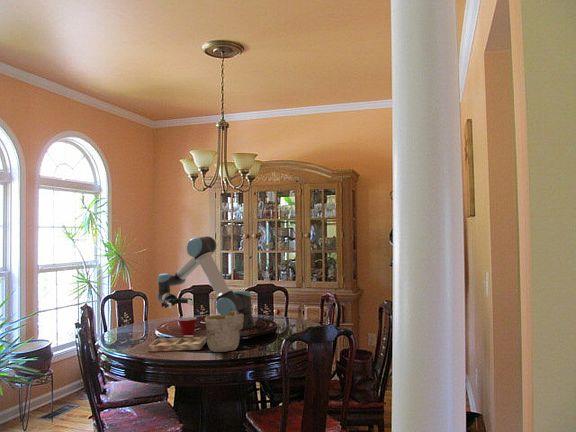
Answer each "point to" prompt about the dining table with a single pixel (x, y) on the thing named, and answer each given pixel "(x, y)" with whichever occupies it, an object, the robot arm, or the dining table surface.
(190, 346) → the wooden compartment tray
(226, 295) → the robot arm
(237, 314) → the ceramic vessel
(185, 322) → the plastic cup
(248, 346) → the dining table surface
